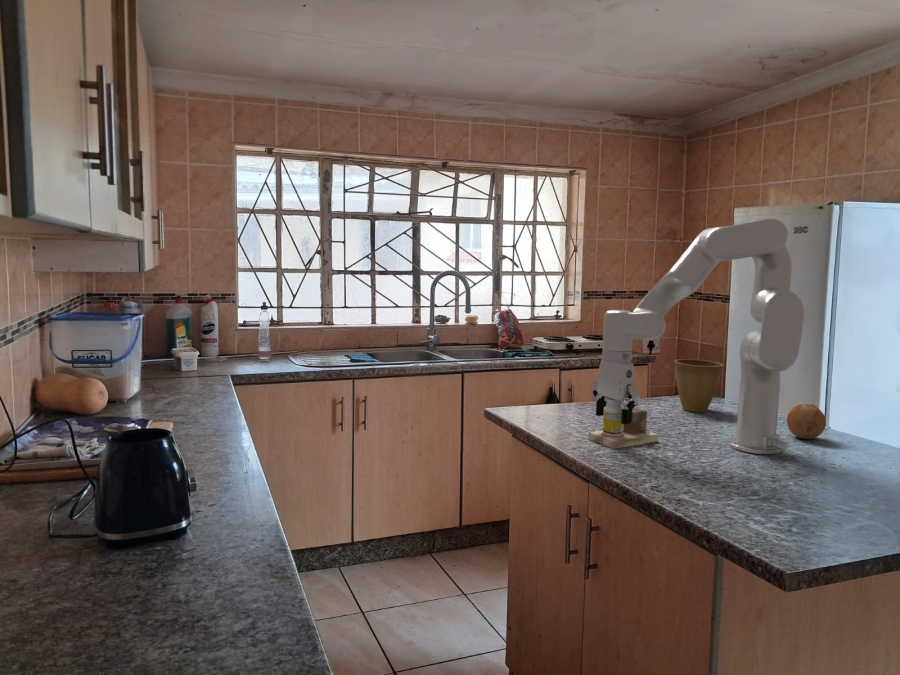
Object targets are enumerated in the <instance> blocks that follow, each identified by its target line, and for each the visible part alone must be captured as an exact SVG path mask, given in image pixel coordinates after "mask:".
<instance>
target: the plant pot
mask: <svg viewBox="0 0 900 675" xmlns="http://www.w3.org/2000/svg"><path fill="white" fill-rule="evenodd" d="M723 367H724V365H723V363H720V362H716V361H711V360H704V359H692V358H691V359H689V358H687V359H685V358H684V359H681V358H680V359H676V360H674V369H675V372H674V373H675V381H676V387H677V391H678V392H677V393H678V396H679V400H680V403H681V407H682V409H683V410H685V411H687V412H692V413H705V412H707V410H708V408H709V407H710V405H711V403H712V400H713V398H714V396H715V393H716V390H717V388H718V385H719V381H720V379H721V374H722V370H723Z"/></svg>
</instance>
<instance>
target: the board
mask: <svg viewBox="0 0 900 675" xmlns="http://www.w3.org/2000/svg"><path fill="white" fill-rule="evenodd" d="M587 439H588V441H591V440H592V442H593V443H594V442H595V443H597V444H599V443H600V445H602V444H603V445H602V446H604V447H605V446H606V447H608V448H610V449H613V450H617V449H621V448H622V447H623V448H629V447H633V446H634V445H635V446H639V445H645V443H646V444H651V442H652V443H657V441H658V442H659V434H658V433H655V432H652V431H649V430H646V432H644V433H638V434H630V433H627V432H624V431H623V435H621V436H608V435H605V434H603V429H602V430H596V431H595V430H593V431H588V438H587ZM628 446H629V447H628ZM623 448H622V449H623Z"/></svg>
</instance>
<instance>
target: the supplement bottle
mask: <svg viewBox="0 0 900 675" xmlns="http://www.w3.org/2000/svg"><path fill="white" fill-rule="evenodd" d="M606 402H607V404H606V406H605V407H604V414H603V418H602V419H603V420H602V421H603V422H602V430H603V434H605V435H608V436H621V435H623V429H624V424H622V423H621V417H622V409H624V407H623V405H622V403H621V401H618V400H614V399H610V398H606Z"/></svg>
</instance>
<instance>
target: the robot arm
mask: <svg viewBox="0 0 900 675" xmlns="http://www.w3.org/2000/svg"><path fill="white" fill-rule="evenodd" d="M788 237H789V232H788V228H787V226H786V225H785V224H784V223H783V222H782V220H779V219H776V218H772V217H771V218H769V217H768V218H761V219H753V220H749V221H746V222H744V223H739V224H731V225H727V226H726V225H725V226H717V227H716V226H715V227H708V228H706V229H704V230H703V231H701V232H699V234H698V235H697V236H696V237H695V238H694V240H693V241H692V242H691V243H690V245H689V246H688V247H687V248H686V250H685V251H684V252H683V253H682V255H681V256H680V257H679V258H678V259H677V261H675V263H674V265H672V267H670V269H669V271H668V272H667V273H666V274H665V275H664V276H663V277H661V279H660V280H659V281H658V282H657V283H656V284H655V285H654V286H653V287H652V288H651V289H650V291H649V292H647V294H646V295H645V296H644V297H643V298H642V300H641V301H640V302H639V303H638V304H637V306H636V307H635V309H634V310H633V311H632V312H631V311H630V310H626V309H625V310H623V309H611V310H610V309H609V310H607V311H605V313H604V316H603V335H602V353H601V360H600V364H599V368H598V373H597V374H598V376H597V380H596V381H594V382H592V383H591V389H592V395H593V396H594V401H595V403H596V404H595V416H596V417H601V416H603V414H604V407H605V406H607V398H610V399H614V400H618V401H621V403H622V405H621V406H622V407H623V408H624V409H622V417H621V423H622V424H630V423H632V409H634V408H635V407H637V405H638V403H639V400H640V398H641V394H640V393H639V392H638V391H637V390H636V378H635V376H636V375H635V367H634V363H633V362H632V360H633V358H634V357H633V355H632V352H633V350H632V349H633V339H635V338H636V339H639V340H647V341H654V340H656V339H659V338H660V337H662V336H663V334H664V333H665V331H666V327H667V326H666V321H665V318H664V317H665V316H666V315H667V313H668V312H669V310H671V309H672V308H673V307H674V306H675V305H677V304H678V303H679V302H680V301H681V300H683V299H686V298H687V297H689V296H691V295H694V293H695V292H696V291H698V289H699V288H700V287H701V285H702V284H703V283H704V282H705V280H706V279H707V278H708V276H709V275H710V274H711V273H712V272H713V271H714V269H715V268H716V267H717V265H718V264H719V263H720V262H727V261H734V260H740V259H741V260H742V259H746V258H752V260H753V263H754V281H753V287H752V293H751V299H750V300H751V301H750V306H749V307H750V309H749V310H750V315H751V317H752V318H753V320H755V322H758V323H759V324H761V329H755V330H752V331H750V332H748V333H747V334H746V335H745V336H744V337H743V339H742V341H741V343H740V347H739V360H740V381H739V382H740V385H739V392H738V393H739V395H738V406H737V407H738V409H737V421H736V436H735V437H733V438H730V439H729V446H730V447H732V449H734V450H738V451H741V452H745V453H751V454H756V455H757V454H758V455H775V454H779V453H781V452H782V451H783V452H785V451H787V449H788V446H789V442H788V441H785V440H781V439H780V437H781V436H780V435H781V434H779V433H777V428H778V426H777V424H778V417H779V416H778V415H779V402H780V401H779V400H780V391H781V372H785V371H787V370H788V369H790V368H791V367H793V365H794V364H795V362H796V361H797V359H798V355H799V351H800V347H801V346H800V345H801V340H802V333H803V329H804V328H803V327H804V320H805V309H804V308H805V307H804V304H803V302H802V299H801V298H800V297H799V295H798V294H796V293H794V292H792V291H791V281H792V269H793V265H792V264H793V263H792V256H791V255H790V252H789V250H788V247H787V246H786V245H785V244H786V243H787V240H788V239H789V238H788Z"/></svg>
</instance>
